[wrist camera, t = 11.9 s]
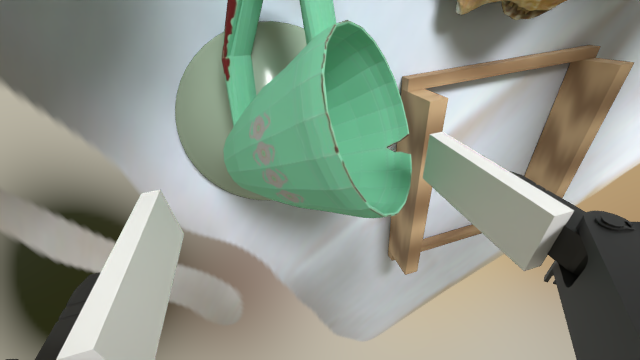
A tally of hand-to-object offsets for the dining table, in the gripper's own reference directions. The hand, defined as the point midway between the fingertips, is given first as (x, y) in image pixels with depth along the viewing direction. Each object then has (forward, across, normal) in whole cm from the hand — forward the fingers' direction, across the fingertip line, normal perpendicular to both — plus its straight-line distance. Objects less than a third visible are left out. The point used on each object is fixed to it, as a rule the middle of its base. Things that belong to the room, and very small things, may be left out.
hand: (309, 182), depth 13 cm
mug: (+8, -4, 0) cm, 9 cm away
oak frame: (+10, +20, -9) cm, 25 cm away
